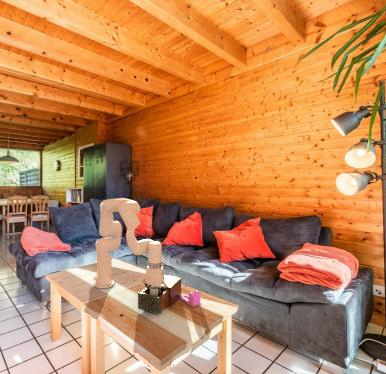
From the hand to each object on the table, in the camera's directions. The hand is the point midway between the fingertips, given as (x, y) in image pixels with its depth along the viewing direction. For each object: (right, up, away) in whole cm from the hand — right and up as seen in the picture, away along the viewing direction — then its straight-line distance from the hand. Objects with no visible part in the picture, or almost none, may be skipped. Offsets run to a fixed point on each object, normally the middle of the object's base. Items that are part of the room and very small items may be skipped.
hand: (154, 296), depth 141 cm
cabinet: (+6, -6, +12) cm, 14 cm away
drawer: (-1, -5, -2) cm, 5 cm away
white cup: (0, -1, 0) cm, 1 cm away
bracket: (+20, -6, +8) cm, 22 cm away
